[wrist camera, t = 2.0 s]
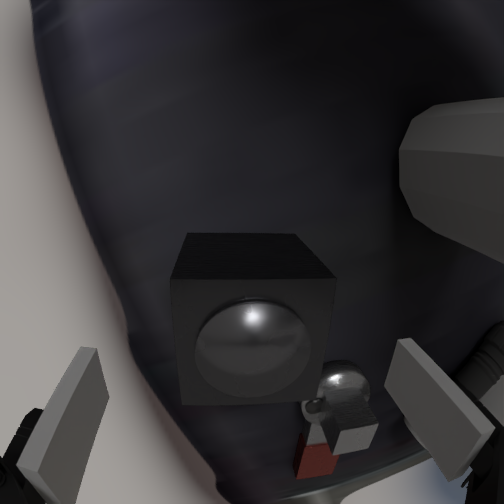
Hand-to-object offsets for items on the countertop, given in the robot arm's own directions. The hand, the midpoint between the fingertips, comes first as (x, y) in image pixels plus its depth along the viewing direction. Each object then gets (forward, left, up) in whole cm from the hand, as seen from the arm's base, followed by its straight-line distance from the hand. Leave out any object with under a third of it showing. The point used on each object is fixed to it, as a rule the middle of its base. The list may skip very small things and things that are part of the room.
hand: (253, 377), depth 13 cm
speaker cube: (0, 0, -10) cm, 10 cm away
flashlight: (+12, +24, -10) cm, 28 cm away
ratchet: (+14, +8, -10) cm, 19 cm away
